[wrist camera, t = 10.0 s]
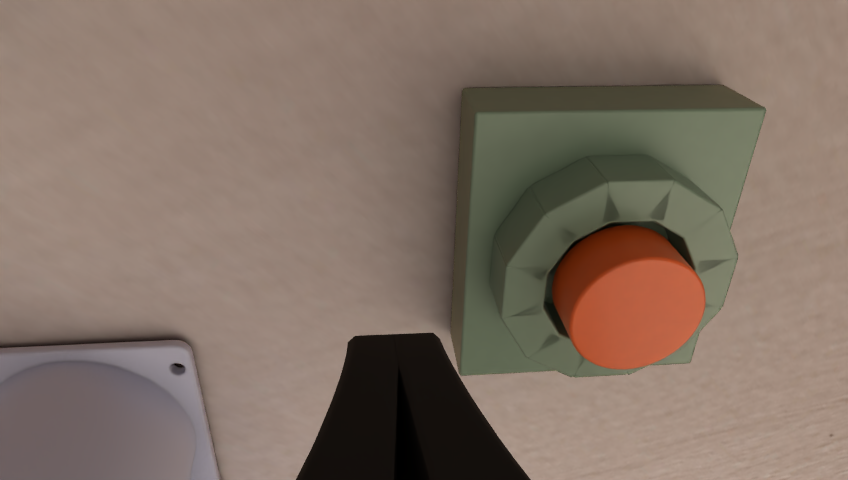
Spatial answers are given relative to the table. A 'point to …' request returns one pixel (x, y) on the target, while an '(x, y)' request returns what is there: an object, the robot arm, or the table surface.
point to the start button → (627, 297)
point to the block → (586, 204)
